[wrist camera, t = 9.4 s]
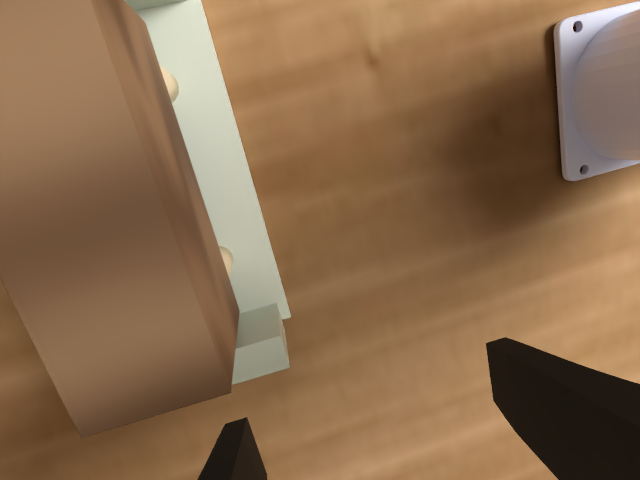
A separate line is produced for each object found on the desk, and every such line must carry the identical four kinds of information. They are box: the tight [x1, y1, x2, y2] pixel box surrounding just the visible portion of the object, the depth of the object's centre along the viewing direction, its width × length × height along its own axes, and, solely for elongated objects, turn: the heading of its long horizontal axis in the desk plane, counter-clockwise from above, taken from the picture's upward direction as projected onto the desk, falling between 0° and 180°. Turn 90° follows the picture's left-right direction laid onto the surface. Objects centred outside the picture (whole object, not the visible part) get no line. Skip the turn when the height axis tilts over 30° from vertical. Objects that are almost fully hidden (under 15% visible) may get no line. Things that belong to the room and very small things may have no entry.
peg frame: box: [124, 0, 291, 385], centre depth 16 cm, size 17×8×4 cm, turn 13°
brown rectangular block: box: [0, 0, 240, 438], centre depth 13 cm, size 12×4×6 cm, turn 13°
